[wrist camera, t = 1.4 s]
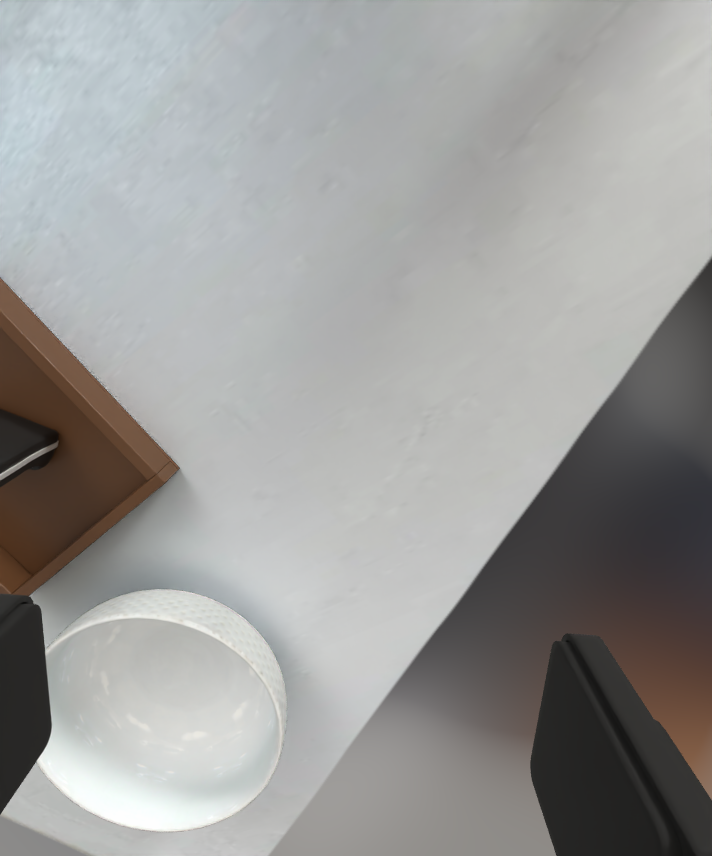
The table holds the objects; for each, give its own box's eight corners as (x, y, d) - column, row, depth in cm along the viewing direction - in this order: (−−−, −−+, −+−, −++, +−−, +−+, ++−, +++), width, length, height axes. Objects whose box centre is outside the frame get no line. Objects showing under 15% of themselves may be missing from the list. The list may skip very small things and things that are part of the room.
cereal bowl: (203, 515, 39) (168, 567, 32) (340, 683, 42) (336, 761, 35) (27, 633, 41) (-40, 704, 35) (169, 781, 45) (134, 872, 38)
